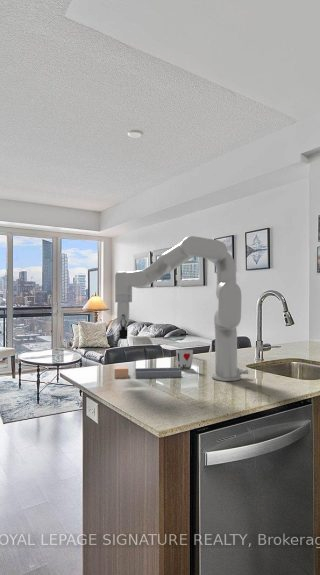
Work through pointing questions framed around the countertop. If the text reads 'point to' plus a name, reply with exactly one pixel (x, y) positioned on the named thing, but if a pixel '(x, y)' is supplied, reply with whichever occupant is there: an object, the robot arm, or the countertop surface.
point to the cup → (184, 359)
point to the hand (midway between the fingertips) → (123, 337)
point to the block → (121, 372)
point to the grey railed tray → (157, 372)
